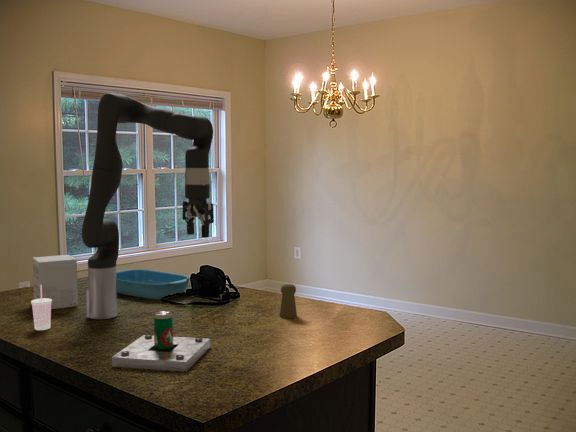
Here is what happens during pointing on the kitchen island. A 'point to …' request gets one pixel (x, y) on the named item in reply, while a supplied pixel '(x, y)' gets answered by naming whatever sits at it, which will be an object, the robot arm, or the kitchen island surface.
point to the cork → (288, 301)
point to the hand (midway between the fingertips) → (197, 235)
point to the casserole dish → (150, 283)
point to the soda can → (163, 331)
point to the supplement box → (56, 280)
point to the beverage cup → (41, 312)
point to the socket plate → (161, 354)
